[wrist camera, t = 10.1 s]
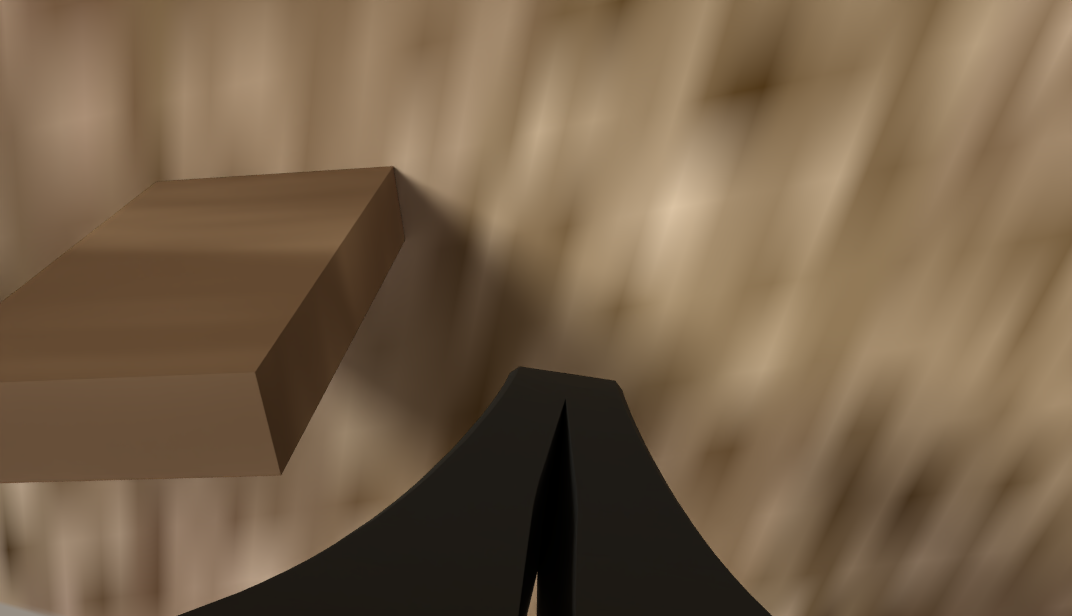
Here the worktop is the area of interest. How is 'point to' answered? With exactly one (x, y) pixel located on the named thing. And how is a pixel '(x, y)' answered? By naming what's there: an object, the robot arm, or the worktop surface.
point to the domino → (193, 327)
